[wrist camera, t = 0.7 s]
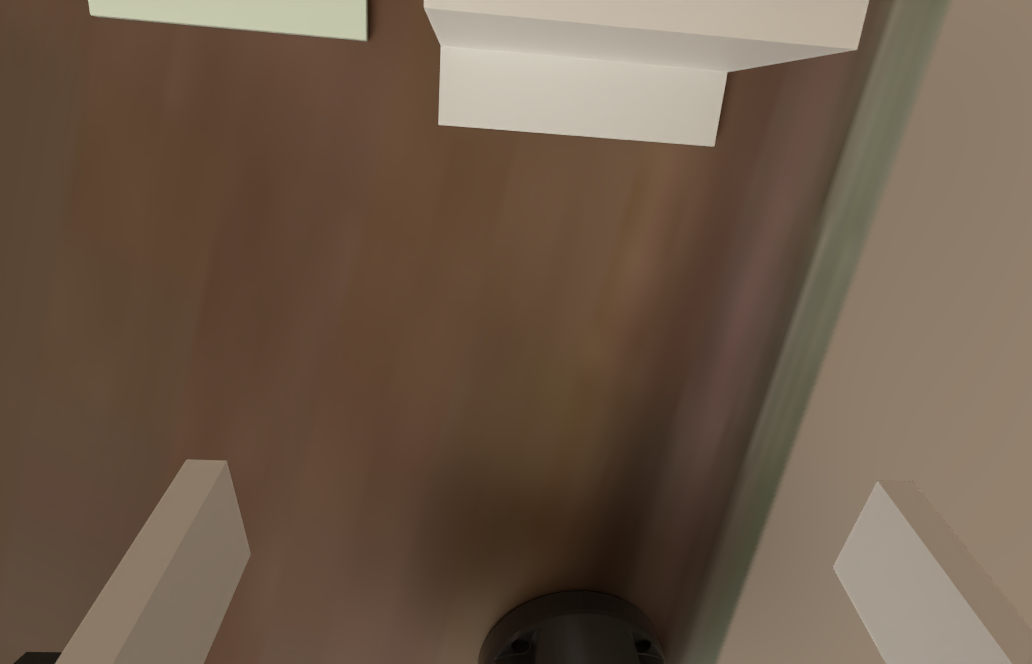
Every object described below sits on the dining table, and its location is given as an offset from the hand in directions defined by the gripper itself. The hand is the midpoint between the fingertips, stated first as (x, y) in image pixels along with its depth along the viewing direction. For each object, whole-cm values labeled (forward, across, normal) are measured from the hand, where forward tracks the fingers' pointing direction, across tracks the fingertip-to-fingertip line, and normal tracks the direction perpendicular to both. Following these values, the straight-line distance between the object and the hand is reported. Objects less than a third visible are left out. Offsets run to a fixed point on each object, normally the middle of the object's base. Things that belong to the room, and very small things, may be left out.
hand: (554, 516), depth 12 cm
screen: (+28, -3, -5) cm, 28 cm away
